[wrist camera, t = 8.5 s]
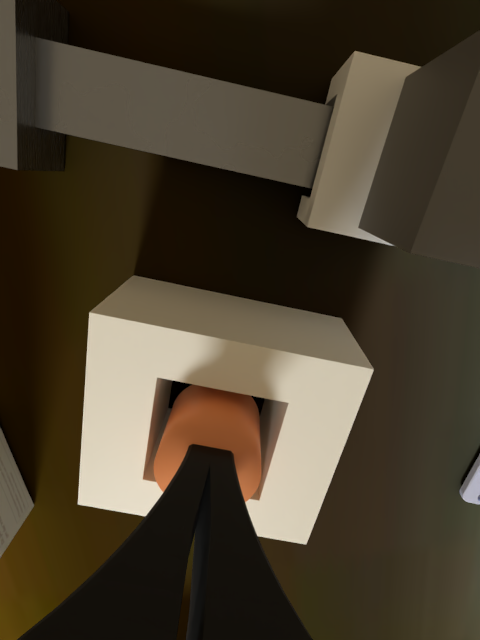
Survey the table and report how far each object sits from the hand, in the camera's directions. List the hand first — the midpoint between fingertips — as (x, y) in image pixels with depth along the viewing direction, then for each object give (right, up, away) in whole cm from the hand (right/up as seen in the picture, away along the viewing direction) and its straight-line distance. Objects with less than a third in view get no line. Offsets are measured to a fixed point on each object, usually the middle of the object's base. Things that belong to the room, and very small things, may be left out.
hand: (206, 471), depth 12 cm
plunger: (0, +2, +5) cm, 5 cm away
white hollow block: (0, +2, +5) cm, 6 cm away
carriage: (+7, +10, +2) cm, 12 cm away
